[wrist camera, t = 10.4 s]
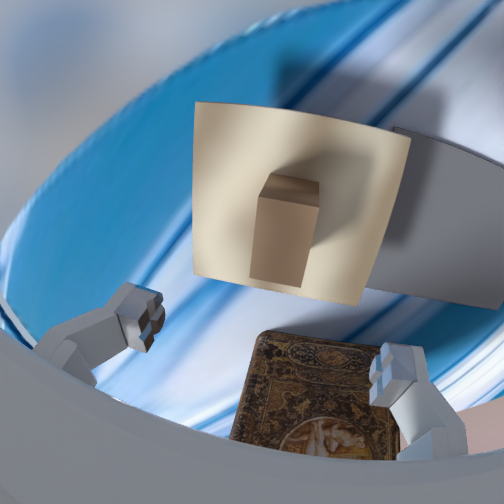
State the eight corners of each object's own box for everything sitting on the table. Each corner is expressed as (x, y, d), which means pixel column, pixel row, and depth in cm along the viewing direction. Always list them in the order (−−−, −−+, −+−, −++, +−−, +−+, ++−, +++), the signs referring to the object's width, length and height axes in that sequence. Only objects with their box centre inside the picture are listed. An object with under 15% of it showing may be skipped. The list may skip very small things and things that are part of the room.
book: (253, 356, 36) (199, 543, 15) (257, 328, 33) (192, 545, 12) (375, 372, 34) (369, 556, 13) (391, 347, 31) (395, 556, 10)
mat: (550, 194, 17) (552, 196, 16) (496, 307, 25) (497, 310, 24) (394, 126, 19) (395, 127, 19) (350, 281, 27) (350, 284, 27)
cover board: (407, 136, 15) (435, 154, 11) (356, 299, 22) (360, 345, 18) (200, 101, 16) (164, 108, 12) (197, 268, 24) (173, 307, 20)
